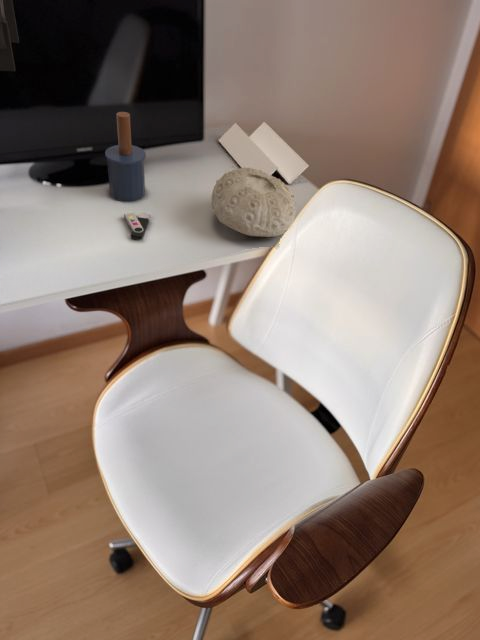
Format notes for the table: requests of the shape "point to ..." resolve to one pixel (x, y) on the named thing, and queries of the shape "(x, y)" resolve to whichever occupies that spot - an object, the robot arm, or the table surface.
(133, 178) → the tin
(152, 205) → the table surface
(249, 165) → the z bracket
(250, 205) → the decorative shell
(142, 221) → the usb flash drive
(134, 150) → the lid
